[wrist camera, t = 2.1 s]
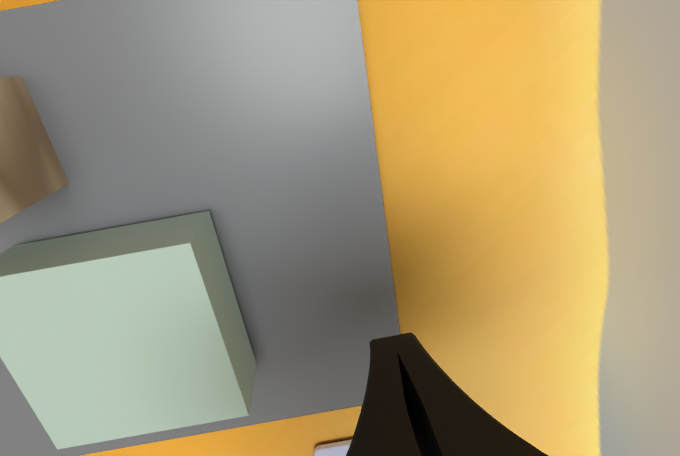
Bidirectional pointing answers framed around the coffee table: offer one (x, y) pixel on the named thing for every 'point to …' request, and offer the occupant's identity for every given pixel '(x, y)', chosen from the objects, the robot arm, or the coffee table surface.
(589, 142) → the coffee table surface
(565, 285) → the coffee table surface
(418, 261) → the coffee table surface
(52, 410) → the pale green square block
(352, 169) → the pin board
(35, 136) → the peg
